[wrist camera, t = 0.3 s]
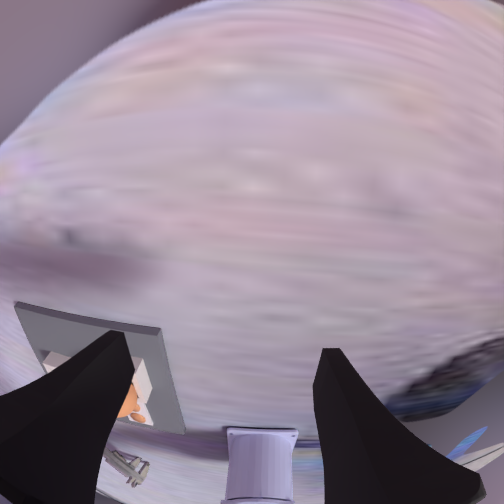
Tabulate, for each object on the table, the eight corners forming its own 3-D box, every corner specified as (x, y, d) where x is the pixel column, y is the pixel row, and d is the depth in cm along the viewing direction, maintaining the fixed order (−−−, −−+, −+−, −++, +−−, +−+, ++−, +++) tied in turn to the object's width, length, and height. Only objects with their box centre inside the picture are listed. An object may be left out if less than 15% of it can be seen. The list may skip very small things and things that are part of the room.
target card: (153, 423, 26) (152, 427, 26) (130, 418, 27) (129, 421, 26) (143, 399, 24) (141, 403, 24) (118, 393, 25) (116, 397, 24)
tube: (152, 388, 23) (146, 403, 22) (115, 380, 24) (107, 394, 22) (142, 358, 22) (135, 374, 20) (102, 350, 22) (93, 364, 20)
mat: (185, 428, 28) (184, 435, 27) (65, 397, 28) (63, 401, 27) (160, 328, 22) (157, 335, 21) (18, 301, 22) (13, 306, 21)
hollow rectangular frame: (108, 413, 27) (102, 425, 25) (80, 404, 27) (74, 415, 25) (80, 360, 23) (71, 373, 21) (51, 351, 23) (42, 362, 21)
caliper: (151, 461, 35) (142, 490, 29) (147, 462, 35) (139, 490, 29) (48, 391, 29) (30, 420, 23) (46, 393, 30) (29, 421, 24)
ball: (147, 397, 22) (134, 430, 19) (110, 389, 22) (95, 419, 19) (137, 369, 21) (120, 404, 17) (98, 360, 21) (79, 392, 17)
